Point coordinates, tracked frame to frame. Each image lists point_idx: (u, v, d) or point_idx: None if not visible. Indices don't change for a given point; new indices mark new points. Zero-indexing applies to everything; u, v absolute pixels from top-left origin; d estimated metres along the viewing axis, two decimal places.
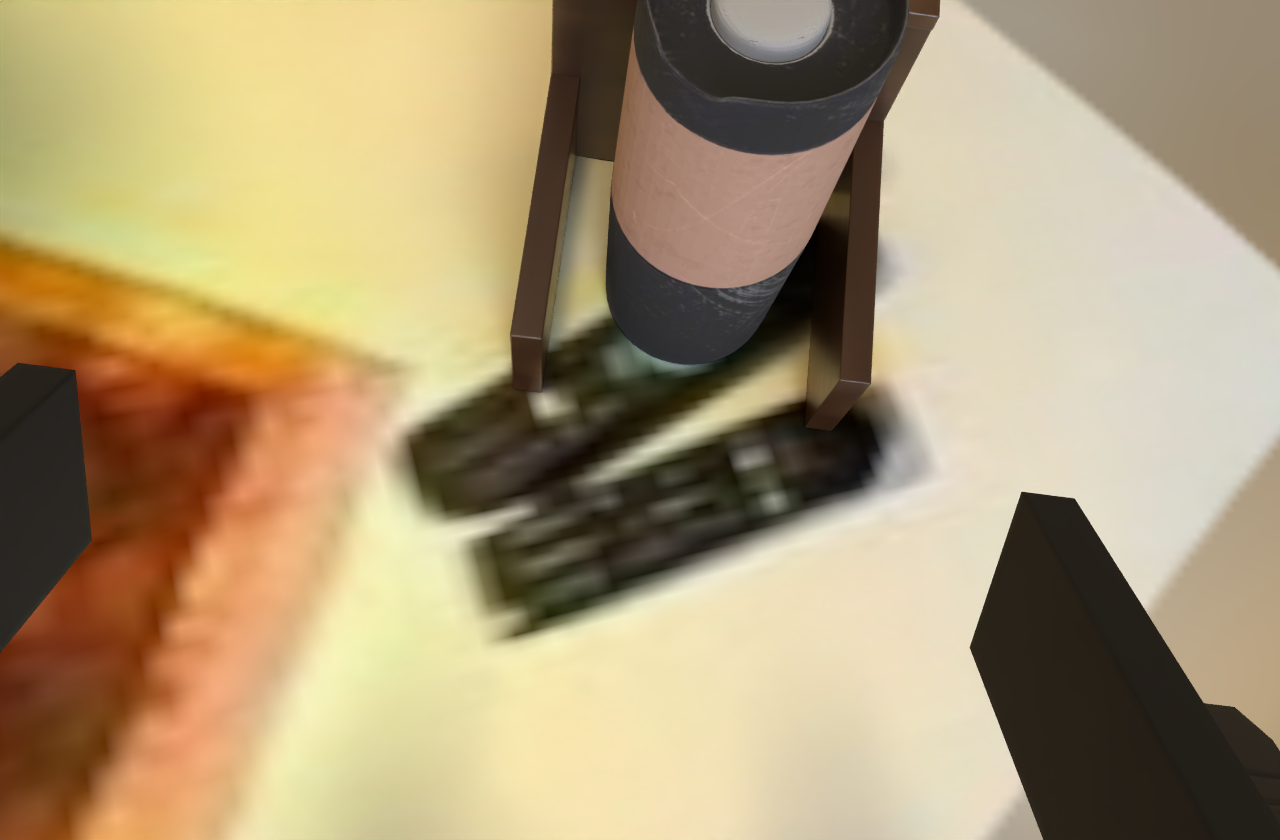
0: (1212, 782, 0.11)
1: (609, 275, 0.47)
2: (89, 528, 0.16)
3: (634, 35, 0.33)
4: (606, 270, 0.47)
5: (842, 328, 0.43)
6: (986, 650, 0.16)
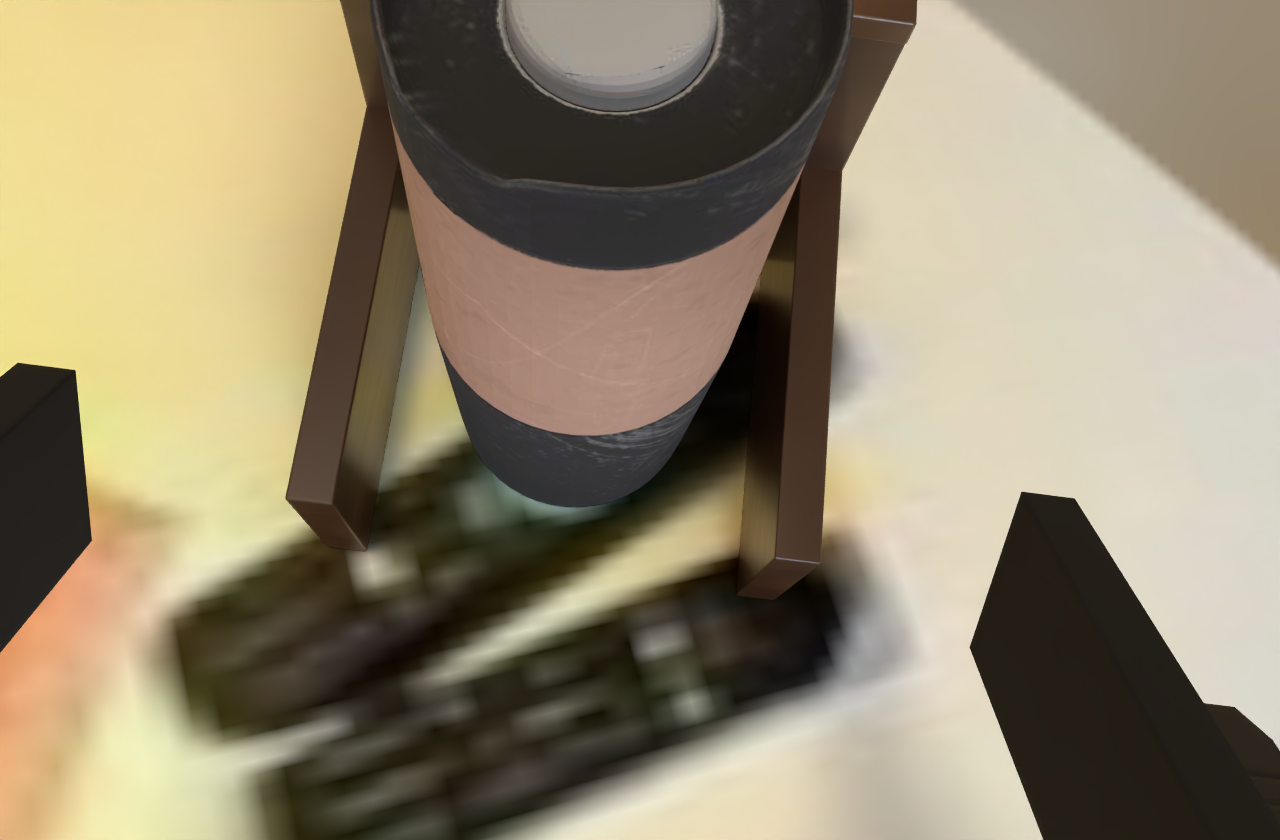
0: (1212, 782, 0.11)
1: None
2: (89, 528, 0.16)
3: None
4: None
5: (779, 479, 0.30)
6: (986, 650, 0.16)
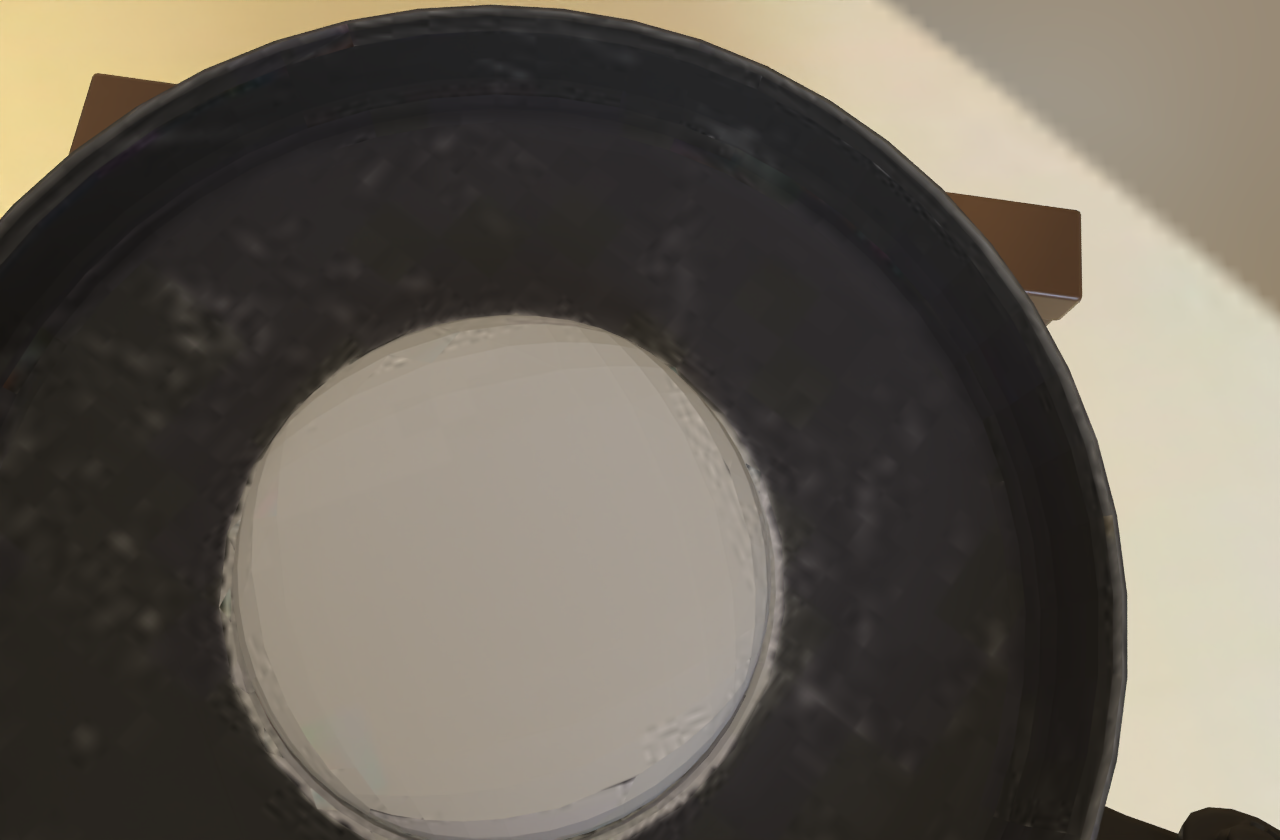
0: None
1: None
2: None
3: None
4: None
5: None
6: None
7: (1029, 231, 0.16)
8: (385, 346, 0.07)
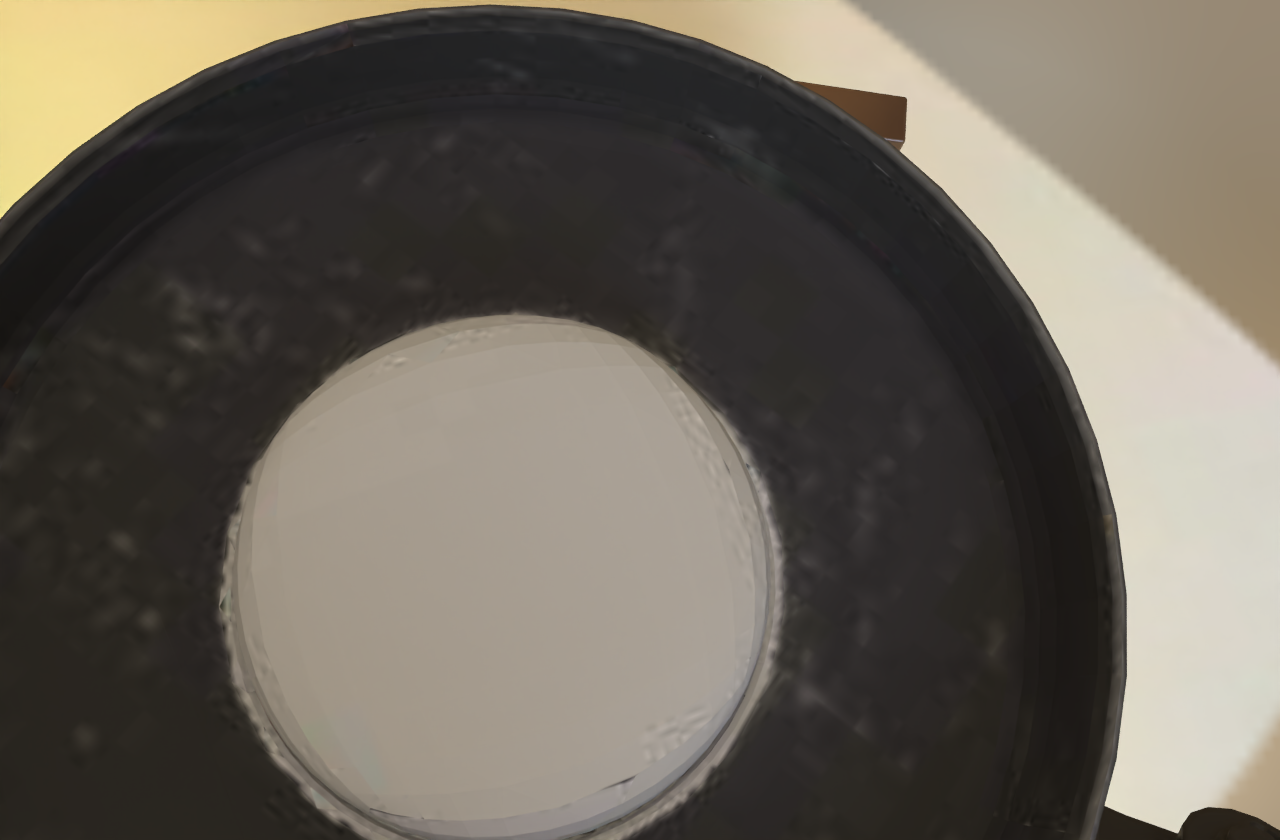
0: None
1: None
2: None
3: None
4: None
5: None
6: None
7: (879, 107, 0.30)
8: (385, 346, 0.07)
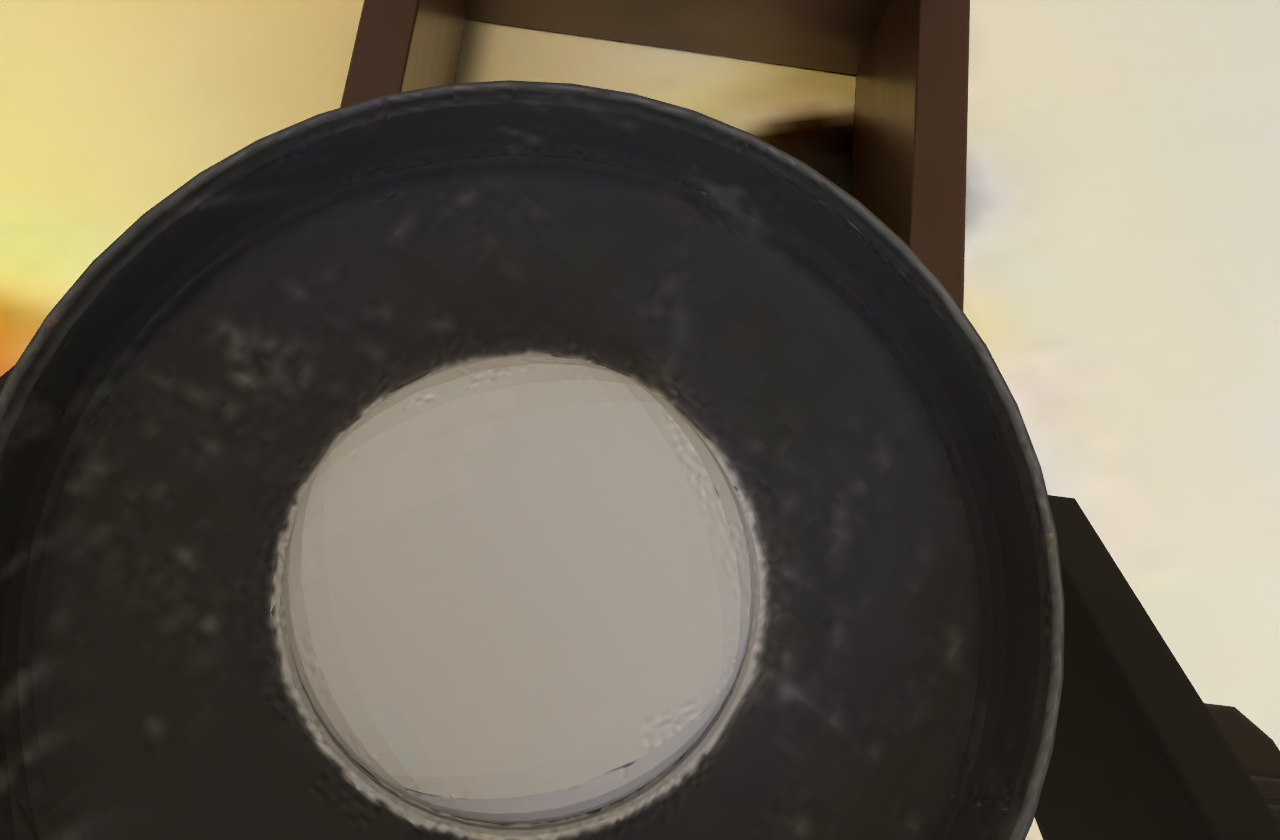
0: (1212, 782, 0.11)
1: None
2: None
3: None
4: None
5: None
6: None
7: None
8: (416, 383, 0.08)
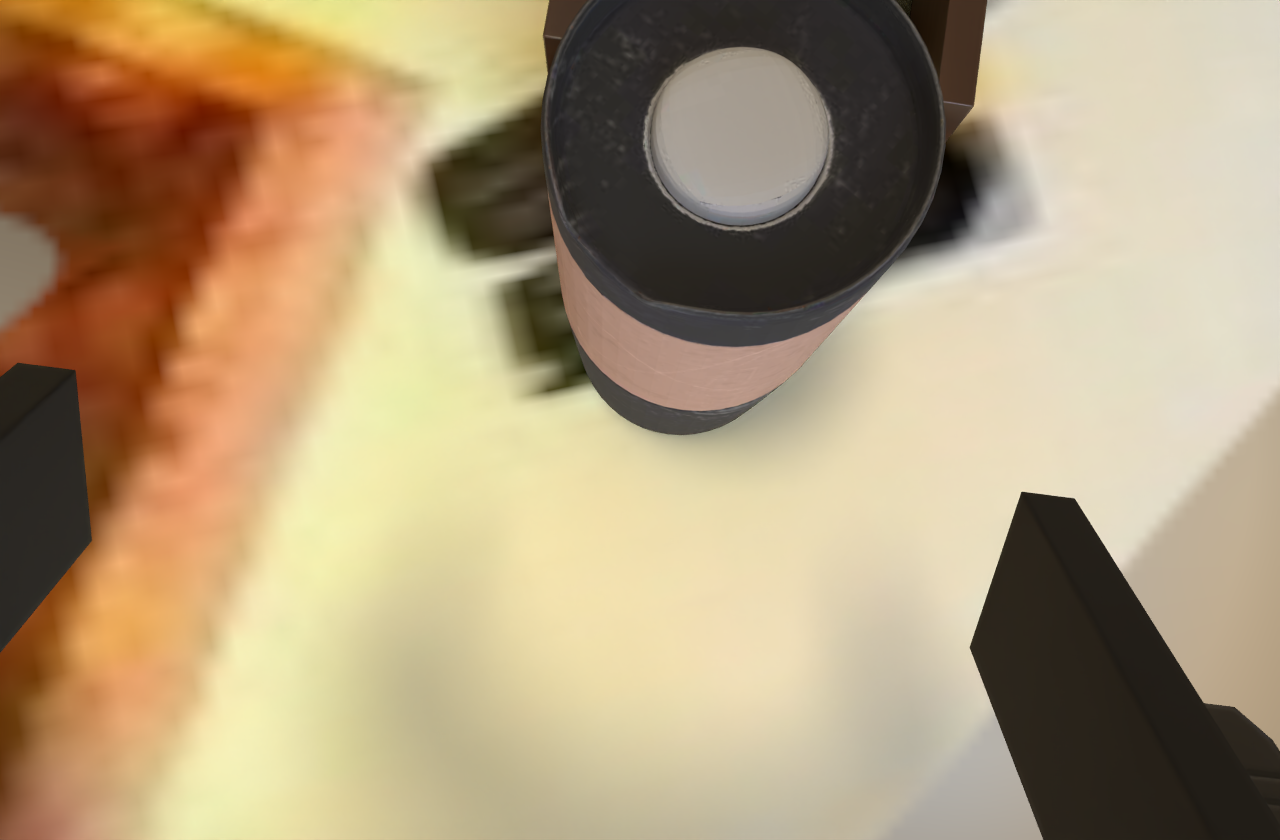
0: (1212, 782, 0.11)
1: None
2: (89, 528, 0.16)
3: None
4: None
5: (943, 38, 0.36)
6: (986, 650, 0.16)
7: None
8: (700, 57, 0.21)
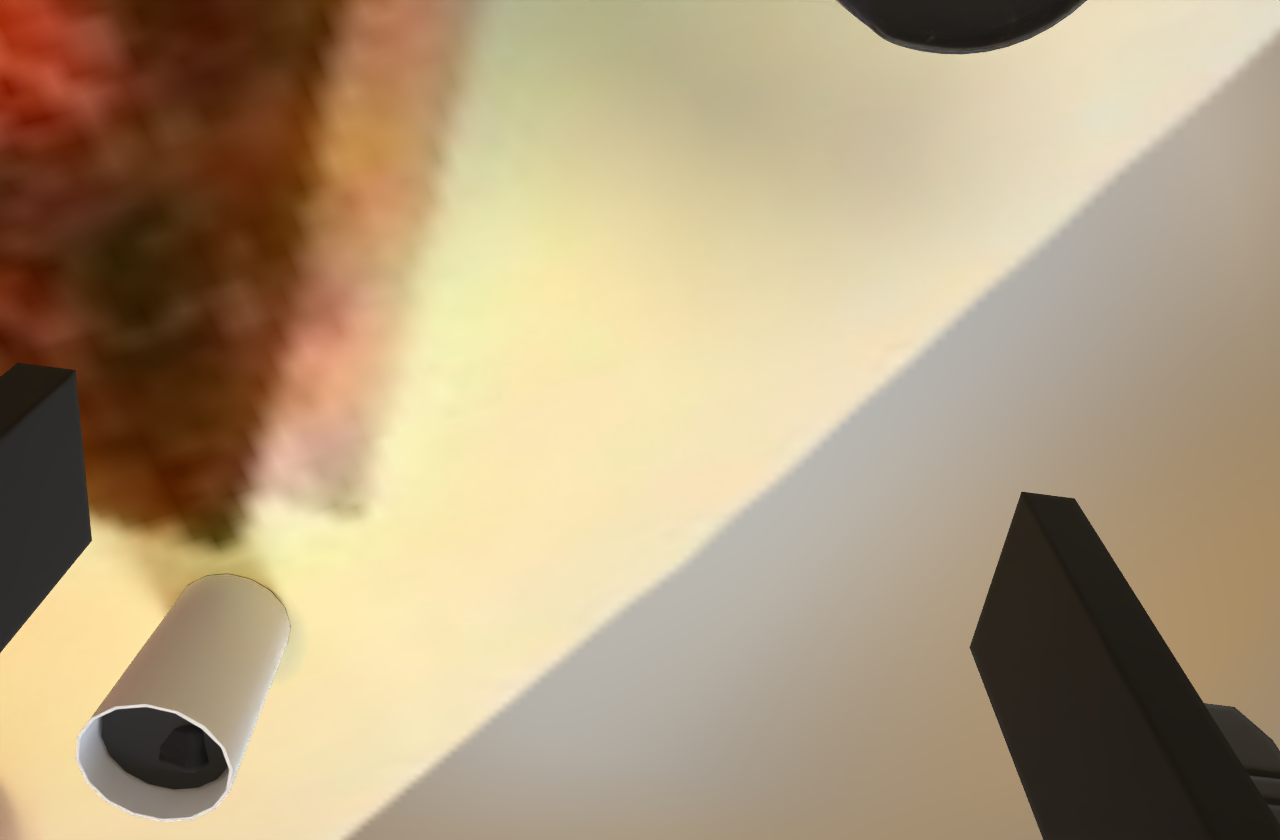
0: (1212, 782, 0.11)
1: None
2: (89, 528, 0.16)
3: None
4: None
5: None
6: (986, 650, 0.16)
7: None
8: None
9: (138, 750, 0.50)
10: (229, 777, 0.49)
